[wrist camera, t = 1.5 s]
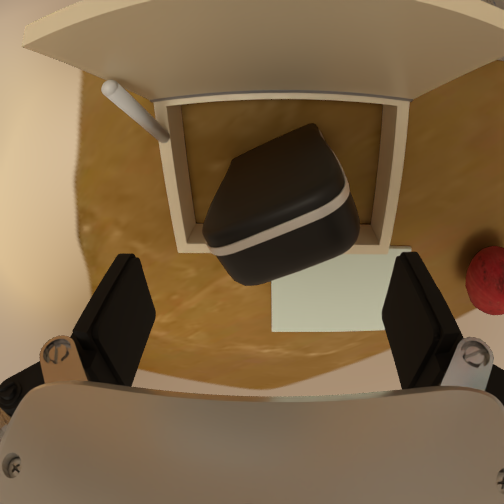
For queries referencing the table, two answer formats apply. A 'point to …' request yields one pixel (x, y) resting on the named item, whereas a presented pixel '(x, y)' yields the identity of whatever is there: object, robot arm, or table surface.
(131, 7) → the case
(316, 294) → the mat
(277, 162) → the battery charger
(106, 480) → the robot arm
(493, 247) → the red fruit
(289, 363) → the table surface
